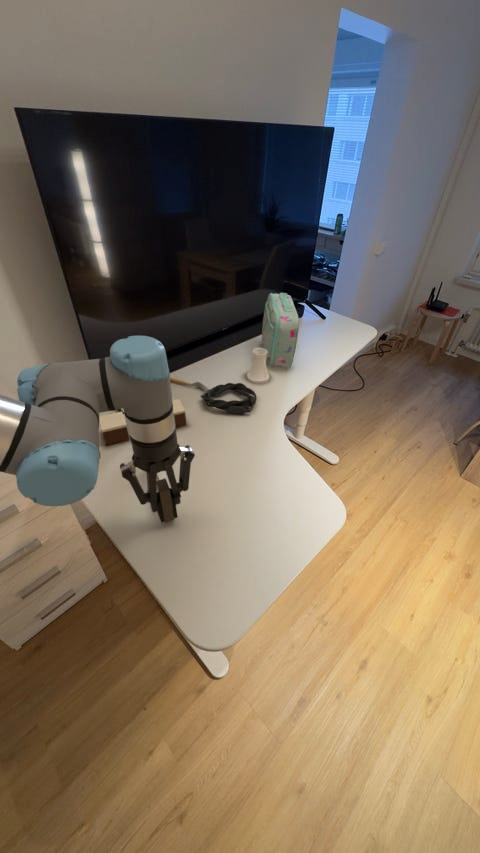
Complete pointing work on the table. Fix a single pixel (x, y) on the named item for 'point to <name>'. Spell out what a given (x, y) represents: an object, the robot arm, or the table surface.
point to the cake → (114, 428)
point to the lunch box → (280, 330)
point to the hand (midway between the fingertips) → (167, 515)
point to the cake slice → (179, 413)
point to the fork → (196, 384)
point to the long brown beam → (165, 499)
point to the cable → (232, 405)
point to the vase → (258, 367)
